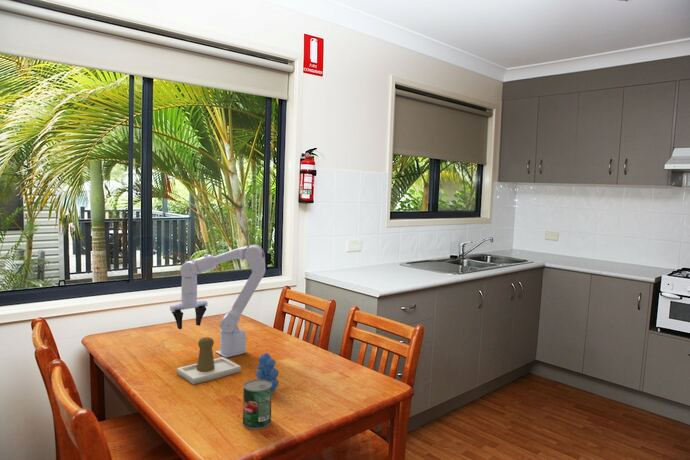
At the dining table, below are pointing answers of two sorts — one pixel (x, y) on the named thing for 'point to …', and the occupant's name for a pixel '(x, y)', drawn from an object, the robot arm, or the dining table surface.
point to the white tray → (220, 370)
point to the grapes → (267, 370)
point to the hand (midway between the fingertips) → (189, 326)
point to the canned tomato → (257, 404)
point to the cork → (205, 355)
